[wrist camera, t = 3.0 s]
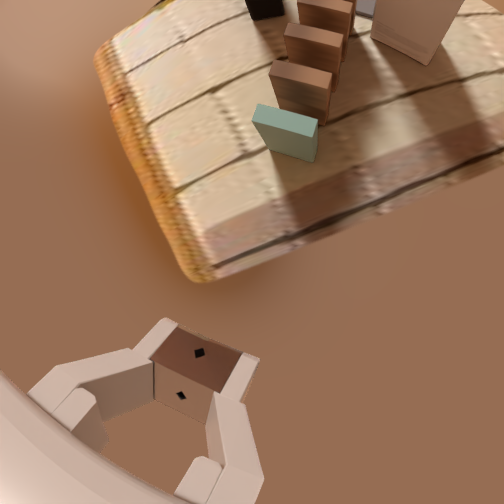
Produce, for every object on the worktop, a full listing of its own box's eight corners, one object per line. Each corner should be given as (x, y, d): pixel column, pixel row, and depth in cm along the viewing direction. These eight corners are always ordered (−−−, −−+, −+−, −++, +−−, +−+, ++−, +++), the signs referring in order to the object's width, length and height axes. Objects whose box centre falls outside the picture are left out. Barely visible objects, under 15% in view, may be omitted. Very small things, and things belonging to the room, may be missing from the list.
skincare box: (438, 38, 28) (479, -33, 12) (425, 70, 29) (471, -3, 14) (382, 8, 29) (399, -72, 14) (365, 37, 30) (381, -48, 15)
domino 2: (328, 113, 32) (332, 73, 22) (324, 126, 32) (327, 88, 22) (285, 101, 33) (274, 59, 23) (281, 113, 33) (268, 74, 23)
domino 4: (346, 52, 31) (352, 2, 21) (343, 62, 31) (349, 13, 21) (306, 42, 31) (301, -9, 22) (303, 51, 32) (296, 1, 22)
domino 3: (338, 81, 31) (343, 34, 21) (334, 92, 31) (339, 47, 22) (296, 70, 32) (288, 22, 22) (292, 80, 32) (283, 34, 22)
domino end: (317, 149, 32) (317, 119, 23) (313, 163, 33) (312, 137, 23) (273, 136, 33) (257, 103, 23) (269, 149, 33) (251, 120, 24)
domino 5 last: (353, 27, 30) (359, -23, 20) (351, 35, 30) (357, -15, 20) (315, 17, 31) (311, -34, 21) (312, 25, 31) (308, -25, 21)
